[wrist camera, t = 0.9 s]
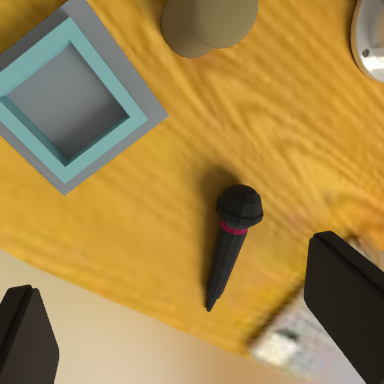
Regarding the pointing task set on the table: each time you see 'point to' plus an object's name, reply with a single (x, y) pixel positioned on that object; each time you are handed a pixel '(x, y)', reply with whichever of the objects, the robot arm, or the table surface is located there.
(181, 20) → the cork
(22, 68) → the socket
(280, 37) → the table surface
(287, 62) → the table surface
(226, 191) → the microphone
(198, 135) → the table surface
